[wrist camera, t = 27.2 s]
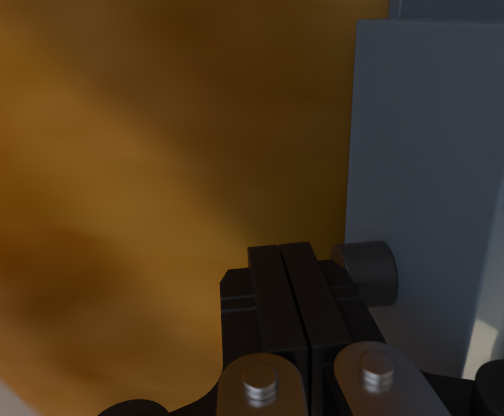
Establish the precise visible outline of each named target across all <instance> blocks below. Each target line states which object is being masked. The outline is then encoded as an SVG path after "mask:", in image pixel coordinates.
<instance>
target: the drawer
mask: <svg viewBox="0 0 504 416" xmlns="http://www.w3.org/2000/svg"><path fill="white" fill-rule="evenodd" d="M330 260H334V261H335V262H336V263H338V264H339V265H340V266H342V267H343V268H344V269H346V270H347V271H348V273H349V275H350V277H351V278H352V280H353V282H354V284H355V287H356V288H357V289H358V291H359V293H360V295H361V299H363V300H364V302H365V304H366V306H367V308H368V310H369V311H370V313H371V315H372V317H373V319H374V321H375V322H376V324H377V326H378V328H379V330H380V332H381V333H382V335H383V337H384V339H385V341H386V342H387V344H388V345H391V346H394V347H396V348H397V349H399V350H401V351H402V352H404V353H405V354H407V355H408V356H409V357H410V358H411V359H412V360H413V361H414V363H415V364H416V365H417V367H418V368H419V370H421V371H424V372H428V373H431V374H436V375H442V376H448V377H455V378H462V379H469V380H475V375H476V372H477V370H478V369H479V368H480V367H481V366H482V365H483V364H485V363H486V362H489V361H492V360H498V359H504V19H478V18H385V19H366V20H358V21H357V25H356V43H355V62H354V80H353V98H352V116H351V135H350V153H349V171H348V190H347V208H346V226H345V244H336V245H334V246H333V248H332V251H331V257H330Z"/></svg>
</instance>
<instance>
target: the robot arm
mask: <svg viewBox="0 0 504 416" xmlns="http://www.w3.org/2000/svg"><path fill="white" fill-rule="evenodd" d="M247 251H248V268H240V269H230V270H227V272H226V274H225V275H224V277H223V279H222V280H221V282H220V300H221V326H222V350H223V369H222V373H221V376H220V378H219V380H218V382H217V383H216V385H215V386H214V387H213V388H212V389H211V390H210V392H208V393H207V394H206V395H205V396H203V397H202V398H200V399H199V400H197V401H195V402H193V403H191V404H189V405H187V406H184V407H182V408H179V409H177V410H174V411H172V412H170V413H169V412H168V411H167V410H166V409H165V408H164V407H163V406H162V405H160V404H158V403H156V402H154V401H150V400H144V399H135V400H128V401H124V402H121V403H118V404H115V405H113V406H111V407H109V408H108V409H106V410H104V411H103V412H101V413H100V414H99V415H98V416H504V359H498V360H492V361H489V362H486V363H485V364H483V365H482V366H481V367H480V368H479V369H478V370H477V372H476V375H475V380H469V379H462V378H455V377H448V376H442V375H436V374H431V373H428V372H424V371H421V370H419V368H418V367H417V365H416V364H415V363H414V361H413V360H412V359H411V358H410V357H409V356H408V355H407V354H405V353H404V352H402V351H401V350H399V349H397V348H396V347H394V346H391V345H388V344H387V342H386V341H385V339H384V337H383V335H382V333H381V332H380V330H379V328H378V326H377V324H376V322H375V321H374V319H373V317H372V315H371V313H370V311H369V310H368V308H367V306H366V304H365V302H364V300H363V299H361V295H360V293H359V291H358V289H357V288H356V287H355V284H354V282H353V280H352V278H351V277H350V275H349V273H348V271H347V270H346V269H344V268H343V267H342V266H340V265H339V264H338V263H336V262H335V261H334V260H322V261H317V259H316V256H315V254H314V252H313V250H312V247H311V245H310V243H309V242H299V243H288V244H279V245H278V246H277V245H267V246H257V247H248V248H247Z"/></svg>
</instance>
